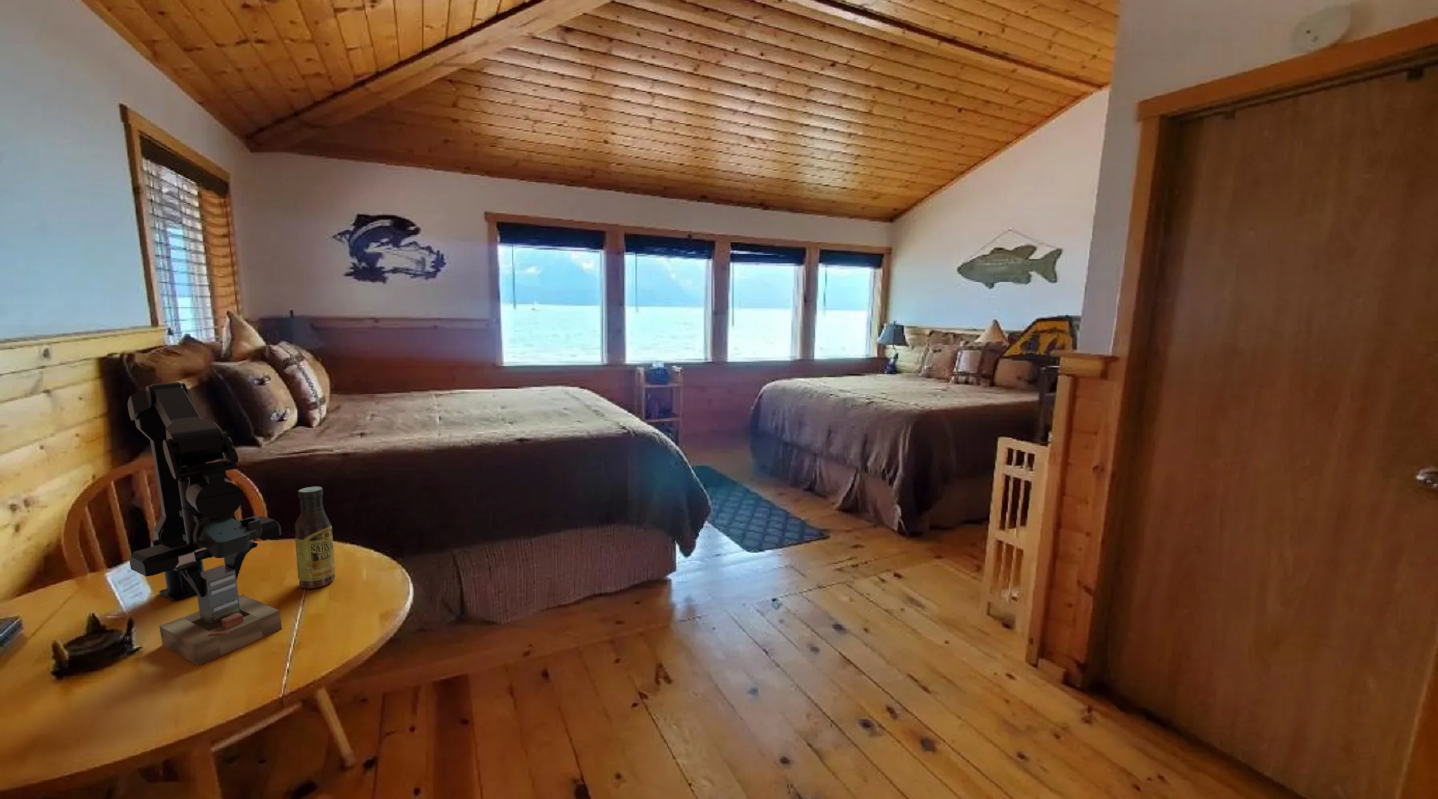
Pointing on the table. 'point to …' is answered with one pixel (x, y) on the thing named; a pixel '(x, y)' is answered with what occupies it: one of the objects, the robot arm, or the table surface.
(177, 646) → the stand base
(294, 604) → the table surface
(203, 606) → the column
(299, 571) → the sauce bottle
